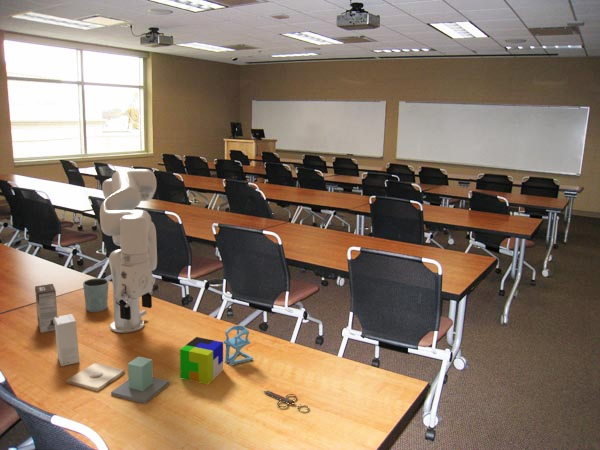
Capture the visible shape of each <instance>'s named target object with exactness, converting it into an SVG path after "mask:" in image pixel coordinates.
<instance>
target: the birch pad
mask: <svg viewBox="0 0 600 450" xmlns="http://www.w3.org/2000/svg"><path fill="white" fill-rule="evenodd" d="M125 372H126V371H125V369H122V368H118V367H114V366H109V365H105V364H101V363H97V362H94V363H93V364H91V365H88V366H87V367H86V368H84V369H82V370H80V371H79V372H77V373H76V374H74V375H73V376H71V377H69V378H68V379H66V384H69V385H73V386H77V387H80V388H84V389H89V390H92V391H94V392H95V391H96V392H99V391H100V390H102V389H103V388H105V387H106V386H108V385H109V384H111V383H112V382H114V381H115V380H117V379H118V378H119V377H121V376H122V375H124V374H125Z"/></svg>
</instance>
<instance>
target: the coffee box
mask: <svg viewBox="0 0 600 450" xmlns="http://www.w3.org/2000/svg"><path fill="white" fill-rule="evenodd" d="M34 292H35V303H36V304H35V305H36V317H37V325H38V328H39V331H40V334H42V333H47V332H52V331H53V332H54V331H55V322H54V317H58V307H57V292H56V288H55V286H54V284H53V283H49V284H48V283H47V284H42V285H36V286H34Z"/></svg>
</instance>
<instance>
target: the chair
mask: <svg viewBox="0 0 600 450" xmlns="http://www.w3.org/2000/svg"><path fill="white" fill-rule="evenodd" d="M233 330H235V331H236V335H235V336H233V337H231V338H230V337H229V335H228V334H229V333H230V332H231V331H233ZM224 334H225V336H226V339H225V340H223V345H224V344H225V357H224V363H226V364H227V363H229V366H234V365H237V364H236V363H239V364H241V363H240V362H243V363H246V362H245V361H248V362H250V361H249V360H252V359H254V358H253V356H251V355H249V354H247V353H245V352H243V351H241V350H242V349H243V348H244V347H246V346H248V345H251V340H249V339H248V338H249V334H250V330H249V329H248V328H247V327H245V326H244V325H233V326H230V327H229V328H228V329H227V330H226V331H224ZM244 335H245V337H244V338H243V337H242V336H244ZM231 348H232V349H235V351H234V353H232V355H230V351H231ZM238 353H240V354H238ZM241 354H242V355H241ZM238 355H241V356H243V355H244V356H243V357H245V356H246V357H245V358H241V359H237V356H238ZM247 357H248V358H247ZM236 359H237V360H236ZM228 361H229V362H228ZM252 361H253V360H252ZM233 364H234V365H233Z"/></svg>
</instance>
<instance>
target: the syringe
mask: <svg viewBox="0 0 600 450" xmlns="http://www.w3.org/2000/svg"><path fill="white" fill-rule="evenodd" d="M259 391H261V389H259ZM263 393H265V395H266V394H268V395H270V396H269V397H271V396H273V397H275V398H278V399H281V401H285V402H287V403H289V404H292V403H294V404H295V401H296V400H295V399H296V398H297V395H296V394H293V393H291V394H287V395H286V396H285V397H284V396H282V395H280V394H278V393H276V392H273V391H270V390H263ZM268 395H267V396H268ZM288 395H295V396H296V397H295V396H294V397H295V399H294V398H293V399H290V398H288V397H289V396H288ZM287 396H288V397H287ZM273 397H272V398H273ZM286 397H287V398H286ZM275 398H274V399H275ZM278 399H277V400H278ZM297 399H298V398H297ZM293 400H295V401H293ZM279 402H280V400H278V401H277V402H276V406H277V405H278V406H279V407H278V406H277V407H278V408H280V407H286V406H289V404H287V403H286V405H285V406H284V405H283V406H282V405H279V404H280V403H281V402H280V403H279ZM285 402H284V403H285ZM301 404H302V403H300V404H299V405H301ZM298 407H299V406H297V410H298V409H300V407H299V408H298ZM286 408H287V407H286ZM308 409H309V410H310V407H309V408H308V407H307V409H306V410H308ZM309 410H308V411H309Z"/></svg>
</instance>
